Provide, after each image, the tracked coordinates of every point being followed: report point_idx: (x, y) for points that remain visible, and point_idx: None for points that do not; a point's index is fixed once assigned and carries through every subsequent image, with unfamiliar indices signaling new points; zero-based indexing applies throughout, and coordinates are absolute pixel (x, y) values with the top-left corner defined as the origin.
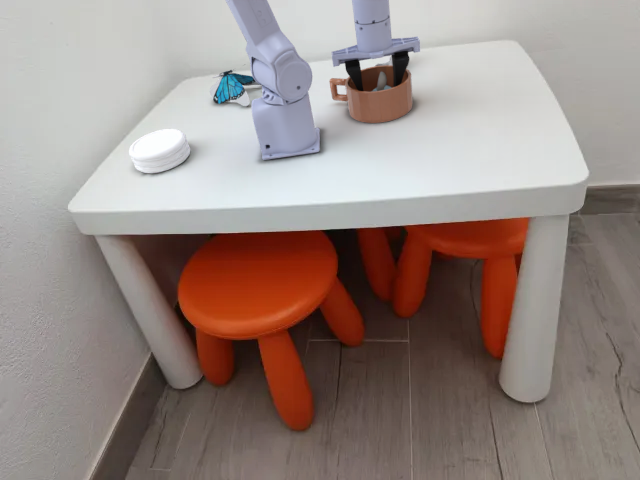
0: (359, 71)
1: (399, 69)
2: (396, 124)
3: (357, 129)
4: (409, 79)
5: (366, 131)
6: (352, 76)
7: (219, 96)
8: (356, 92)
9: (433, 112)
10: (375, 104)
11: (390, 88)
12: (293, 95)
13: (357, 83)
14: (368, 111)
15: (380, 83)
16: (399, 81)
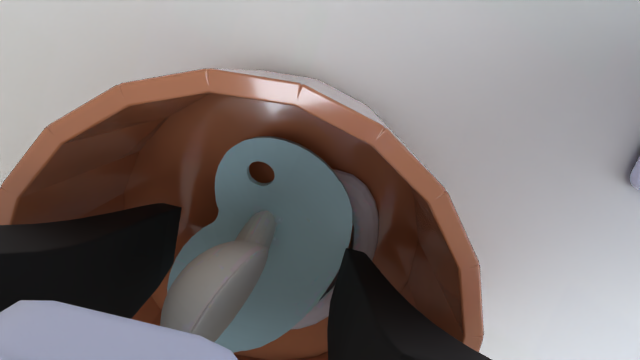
0: (415, 354)
1: (9, 239)
2: (257, 15)
3: (453, 80)
4: (13, 171)
5: (422, 30)
6: (472, 356)
7: None
8: (454, 208)
9: (49, 35)
10: (338, 95)
11: (192, 92)
12: None
13: (406, 314)
14: (379, 118)
15: (234, 250)
16: (96, 220)
